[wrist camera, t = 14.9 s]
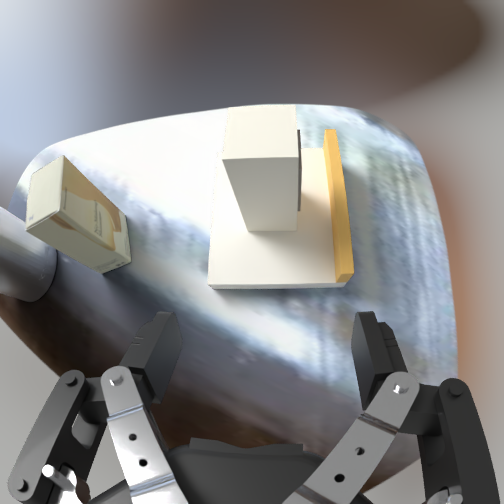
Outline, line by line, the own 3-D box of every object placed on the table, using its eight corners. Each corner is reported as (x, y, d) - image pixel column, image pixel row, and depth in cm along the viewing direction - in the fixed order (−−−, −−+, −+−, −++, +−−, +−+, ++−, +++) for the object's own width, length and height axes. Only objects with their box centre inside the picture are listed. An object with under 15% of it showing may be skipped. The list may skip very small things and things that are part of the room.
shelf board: (213, 289, 28) (197, 275, 23) (221, 163, 32) (211, 134, 28) (343, 287, 27) (354, 273, 22) (330, 159, 31) (335, 129, 26)
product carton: (247, 231, 27) (221, 159, 17) (249, 188, 29) (228, 107, 18) (299, 231, 27) (303, 157, 16) (298, 188, 28) (299, 104, 18)
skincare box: (133, 262, 30) (59, 213, 18) (101, 275, 30) (23, 235, 19) (126, 211, 32) (63, 151, 21) (95, 225, 32) (29, 173, 21)
